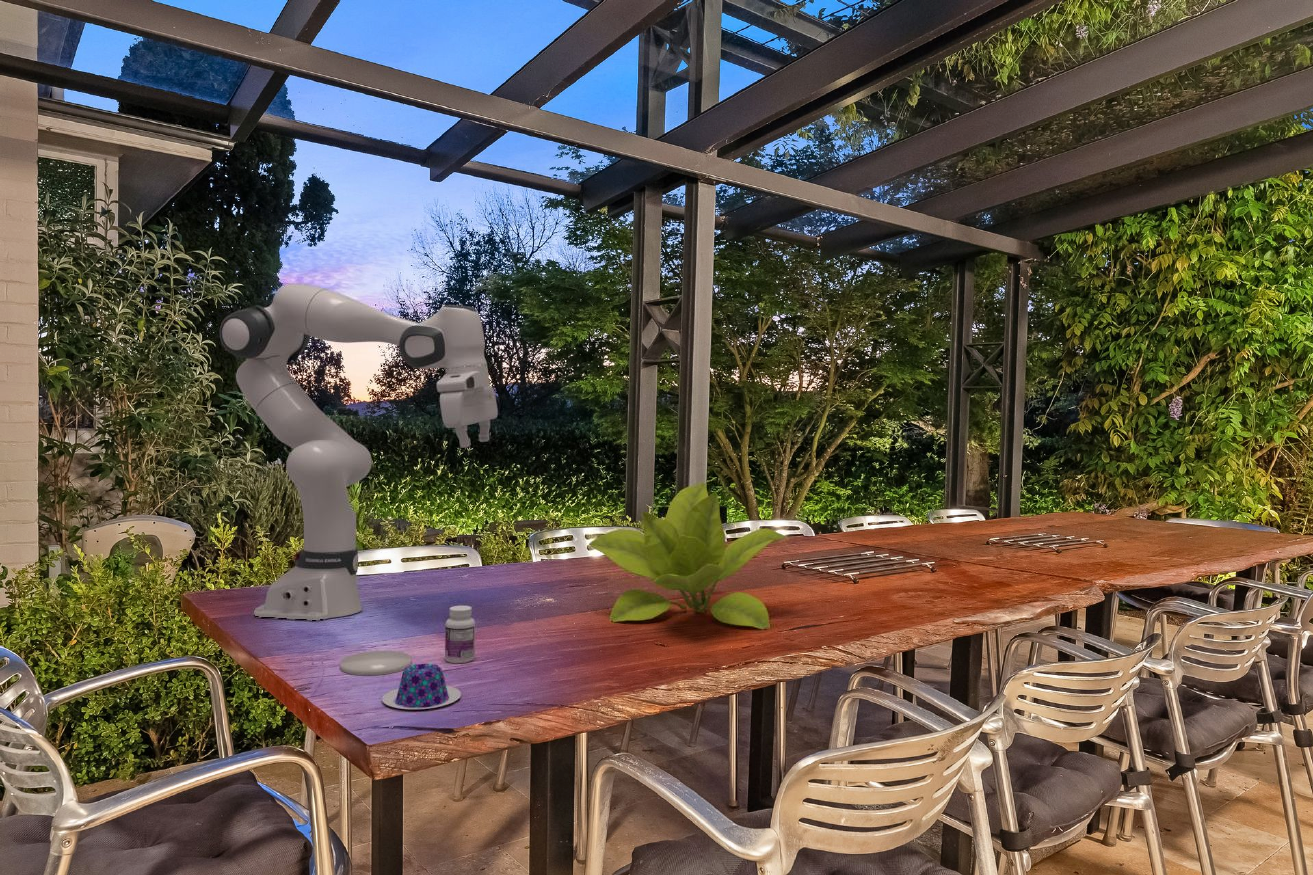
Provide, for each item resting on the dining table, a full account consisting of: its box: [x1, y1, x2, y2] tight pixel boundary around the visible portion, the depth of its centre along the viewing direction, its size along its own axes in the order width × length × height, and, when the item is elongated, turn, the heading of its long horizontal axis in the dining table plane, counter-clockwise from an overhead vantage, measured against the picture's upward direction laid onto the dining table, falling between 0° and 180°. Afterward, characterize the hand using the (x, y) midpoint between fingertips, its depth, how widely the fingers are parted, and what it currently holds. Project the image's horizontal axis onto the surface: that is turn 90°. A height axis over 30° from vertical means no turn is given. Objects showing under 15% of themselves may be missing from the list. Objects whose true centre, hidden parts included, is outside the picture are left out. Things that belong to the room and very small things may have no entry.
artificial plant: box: [588, 481, 788, 630], centre depth 192 cm, size 42×43×30 cm
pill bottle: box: [444, 605, 476, 664], centre depth 154 cm, size 5×5×10 cm
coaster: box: [339, 650, 412, 676], centre depth 150 cm, size 12×12×1 cm
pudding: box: [381, 663, 462, 710], centre depth 132 cm, size 12×12×5 cm
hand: (475, 444), depth 181 cm, fingers open, 8 cm apart
